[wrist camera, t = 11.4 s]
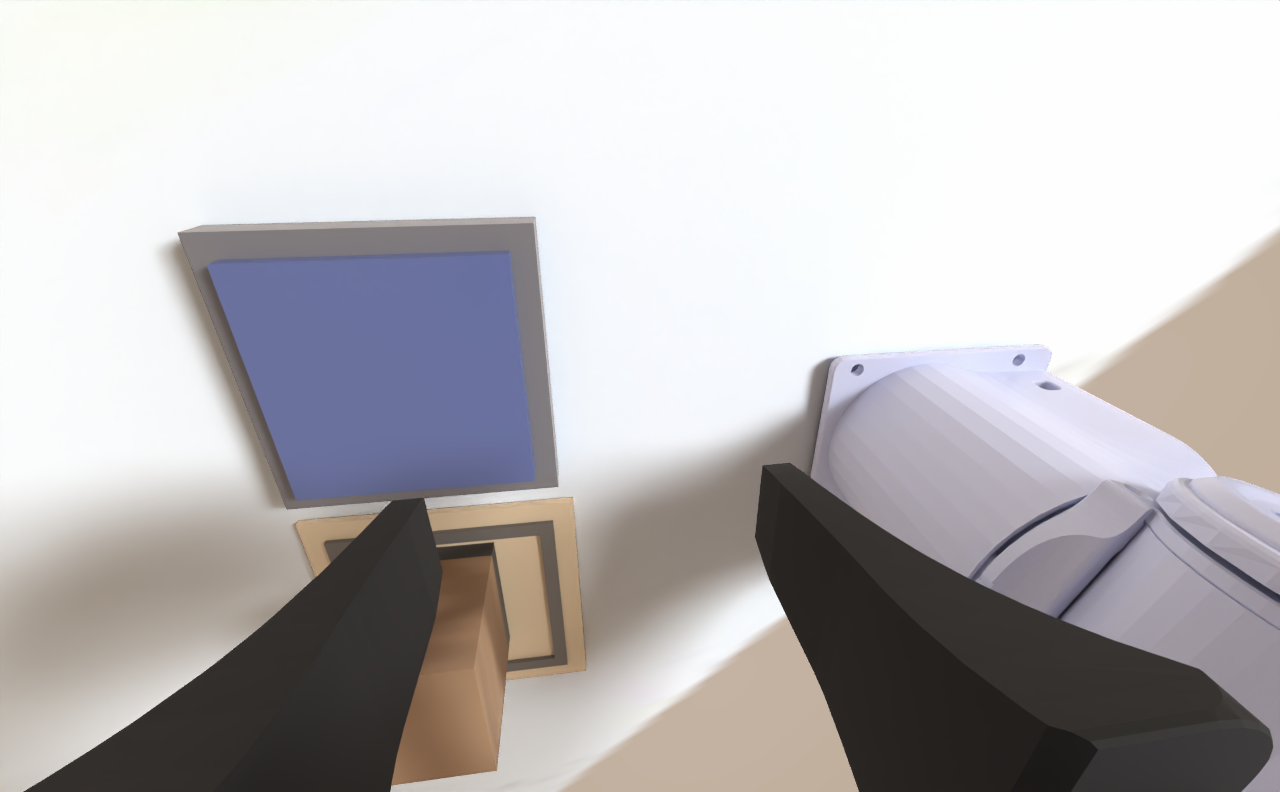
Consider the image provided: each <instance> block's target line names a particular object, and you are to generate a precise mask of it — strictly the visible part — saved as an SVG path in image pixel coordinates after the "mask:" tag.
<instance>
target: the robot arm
mask: <svg viewBox="0 0 1280 792" xmlns="http://www.w3.org/2000/svg"><path fill="white" fill-rule="evenodd" d="M1017 355H1018V356H1017ZM1051 355H1052V352H1051V350H1050V349H1049V348H1048V347H1046V346H1044V345H1040V344H1035V345H1018V346H1001V347H984V348H967V349H950V350H933V351H916V352H898V353H881V354H864V355H847V356H840V357H838V358H836V359H835V360H834V361H833V362H832V363H831V365H830V368H829V374H828V379H827V385H826V391H825V396H824V402H823V408H822V413H821V419H820V425H819V431H818V436H817V442H816V448H815V453H814V459H813V465H812V470H811V476H810V477H809V476H808V475H806V474H805V473H803V472H802V471H801V470H799V469H798V468H796V467H795V466H793V465H792V464H790V463H784V464H773V465H763V467H762V477H761V486H760V496H759V505H758V514H757V524H756V533H755V538H756V541H757V544H758V548H759V551H760V554H761V557H762V560H763V563H764V566H765V569H766V571H767V574H768V577H769V580H770V582H771V584H772V586H773V588H774V590H775V593H776V595H777V597H778V599H779V601H780V603H781V605H782V607H783V609H784V611H785V613H786V615H787V617H788V620H789V622H790V624H791V626H792V628H793V630H794V632H795V634H796V636H797V638H798V640H799V642H800V644H801V646H802V648H803V650H804V652H805V654H806V656H807V659H808V661H809V663H810V665H811V667H812V669H813V671H814V672H815V675H816V678H817V680H818V682H819V684H820V686H821V689H822V691H823V693H824V696H825V699H826V701H827V704H828V707H829V709H830V712H831V715H832V717H833V720H834V722H835V725H836V728H837V731H838V733H839V736H840V739H841V741H842V744H843V747H844V750H845V753H846V755H847V758H848V761H849V764H850V767H851V770H852V772H853V775H854V778H855V781H856V784H857V787H858V790H859V792H1280V494H1277V493H1275V492H1272V491H1269V490H1267V489H1264V488H1261V487H1259V486H1255V485H1253V484H1250V483H1247V482H1244V481H1241V480H1237V479H1234V478H1229V477H1221V476H1217V475H1216V473H1215V472H1214V471H1213V469H1212V468H1211V467H1210V466H1209V465H1208V464H1207V463H1206V462H1205V461H1204V460H1203V459H1202V457H1201V456H1200V455H1198V454H1197V453H1196V452H1195V451H1194V450H1193V449H1191V448H1190V447H1189V446H1187V445H1186V444H1185V443H1183V442H1181V441H1180V440H1178V439H1176V438H1175V437H1173V436H1171V435H1169V434H1167V433H1165V432H1163V431H1161V430H1159V429H1157V428H1155V427H1154V426H1152V425H1150V424H1148V423H1146V422H1144V421H1142V420H1140V419H1138V418H1136V417H1134V416H1132V415H1130V414H1128V413H1126V412H1124V411H1123V410H1121V409H1119V408H1117V407H1115V406H1113V405H1111V404H1109V403H1107V402H1105V401H1103V400H1101V399H1099V398H1097V397H1095V396H1093V395H1092V394H1090V393H1088V392H1086V391H1084V390H1082V389H1080V388H1078V387H1076V386H1074V385H1072V384H1070V383H1068V382H1066V381H1064V380H1063V379H1061V378H1059V377H1057V376H1055V375H1053V374H1051V373H1049V372H1047V371H1046V370H1047V367H1048V364H1049V362H1050V359H1051ZM1016 356H1017V358H1016V359H1015V360H1014V358H1015V357H1016ZM1013 360H1014V361H1013ZM857 364H859V367H858V369H857V370H856V371H854V372H851V370H852V368H853V367H854V366H855V365H857ZM442 573H443V570H442V566H441V562H440V559H439V555H438V551H437V547H436V543H435V539H434V536H433V532H432V528H431V524H430V520H429V517H428V513H427V509H426V505H425V501H424V498H414V499H403V500H393V501H392V502H391V503H390V504H389V505H388V506H387V507H386V508H385V509H384V510H383V511H382V512H381V513H380V514H379V515H378V516H377V517H376V518H375V519H374V520H373V521H372V522H371V523H370V524H369V525H368V526H367V527H366V528H365V529H364V530H363V531H362V532H361V533H360V534H359V535H358V536H357V537H356V538H355V539H354V540H353V541H352V542H351V543H350V544H349V545H348V546H347V547H346V548H345V549H344V550H343V551H342V552H341V553H340V554H339V555H338V556H337V557H336V558H335V559H334V560H333V561H332V562H331V563H330V564H329V565H328V566H327V567H326V568H325V569H324V570H323V571H322V572H321V573H320V574H319V575H318V576H317V577H316V578H315V579H314V580H312V581H311V582H310V583H309V584H308V585H307V586H306V587H305V588H304V589H303V590H302V591H300V592H299V593H298V594H297V595H296V596H295V597H294V598H293V599H292V600H291V601H289V602H288V603H287V604H286V605H285V606H284V607H283V608H282V609H281V610H280V611H279V612H277V613H276V614H275V615H274V616H273V617H272V618H271V619H269V620H268V621H267V622H266V623H265V624H264V625H262V626H261V627H260V628H259V629H258V630H256V631H255V632H254V633H253V634H252V635H250V636H249V637H248V638H247V639H246V640H244V641H243V642H242V643H241V644H239V645H238V646H237V647H235V648H234V649H233V650H232V651H230V652H229V653H228V654H227V655H225V656H224V657H223V658H222V659H220V660H219V661H218V662H217V663H215V664H214V665H213V666H211V667H210V668H209V669H207V670H206V671H205V672H203V673H202V674H201V675H199V676H198V677H196V678H195V679H194V680H192V681H191V682H189V683H188V684H187V685H185V686H184V687H182V688H181V689H179V690H178V691H177V692H175V693H174V694H172V695H171V696H170V697H168V698H167V699H165V700H164V701H163V702H161V703H160V704H158V705H157V706H156V707H154V708H153V709H151V710H150V711H149V712H147V713H146V714H144V715H143V716H142V717H140V718H139V719H137V720H136V721H134V722H133V723H131V724H130V725H128V726H127V727H125V728H124V729H122V730H121V731H119V732H118V733H116V734H115V735H113V736H112V737H110V738H109V739H107V740H106V741H104V742H102V743H101V744H99V745H98V746H96V747H95V748H93V749H92V750H90V751H89V752H87V753H85V754H84V755H82V756H81V757H79V758H77V759H76V760H74V761H73V762H71V763H69V764H68V765H66V766H65V767H63V768H62V769H60V770H58V771H57V772H55V773H54V774H52V775H50V776H49V777H47V778H45V779H44V780H42V781H41V782H39V783H37V784H36V785H34V786H32V787H31V788H29V789H27V790H26V791H24V792H390V790H391V784H392V779H393V774H394V769H395V763H396V758H397V754H398V750H399V746H400V742H401V738H402V734H403V730H404V726H405V723H406V719H407V716H408V712H409V709H410V705H411V702H412V699H413V695H414V692H415V688H416V685H417V681H418V678H419V675H420V671H421V668H422V664H423V661H424V657H425V654H426V650H427V647H428V643H429V640H430V636H431V633H432V629H433V626H434V622H435V618H436V612H437V607H438V601H439V594H440V587H441V580H442Z"/></svg>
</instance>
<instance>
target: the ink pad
mask: <svg viewBox="0 0 1280 792" xmlns="http://www.w3.org/2000/svg"><path fill="white" fill-rule="evenodd" d="M178 235H179V238H180V240H181V243H182V245H183V248H184V250H185V253H186V255H187V258H188V260H189V263H190V265H191V268H192V270H193V273H194V276H195V278H196V281H197V283H198V286H199V288H200V291H201V293H202V296H203V298H204V301H205V303H206V306H207V308H208V311H209V313H210V316H211V319H212V321H213V324H214V326H215V329H216V331H217V334H218V336H219V339H220V341H221V344H222V346H223V349H224V351H225V354H226V357H227V359H228V362H229V364H230V367H231V369H232V372H233V374H234V377H235V379H236V382H237V384H238V387H239V389H240V392H241V394H242V397H243V400H244V402H245V405H246V407H247V410H248V412H249V415H250V417H251V420H252V422H253V425H254V427H255V430H256V432H257V435H258V438H259V440H260V443H261V445H262V448H263V450H264V453H265V455H266V458H267V460H268V463H269V465H270V468H271V470H272V473H273V476H274V478H275V481H276V483H277V486H278V488H279V491H280V493H281V496H282V498H283V501H284V503H285V506H286V508H287V509H297V508H309V507H322V506H334V505H346V504H358V503H370V502H382V501H393V500H403V499H414V498H430V497H442V496H454V495H466V494H478V493H490V492H502V491H514V490H526V489H538V488H550V487H558V460H557V449H556V438H555V427H554V416H553V405H552V394H551V383H550V372H549V362H548V351H547V340H546V329H545V318H544V307H543V296H542V285H541V274H540V263H539V252H538V241H537V230H536V219H535V217H510V218H471V219H431V220H391V221H352V222H312V223H272V224H233V225H202V226H198V227H195V228H192V229H188V230H185V231H181V232H178Z"/></svg>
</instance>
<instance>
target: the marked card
mask: <svg viewBox="0 0 1280 792" xmlns="http://www.w3.org/2000/svg"><path fill="white" fill-rule="evenodd" d="M427 513H428V517H429V520H430V524H431V528H432V532H433V536H434V539H435V543H436V547H446V546H457V545H468V544H479V543H490V542H494V546H495V552H496V558H497V563H498V569H499V575H500V581H501V587H502V593H503V598H504V604H505V610H506V616H507V622H508V627H509V633H510V642H509V652H508V662H507V673H506V680H512V679H520V678H528V677H537V676H545V675H553V674H561V673H569V672H577V671H585V670H586V659H585V647H584V634H583V621H582V608H581V596H580V583H579V570H578V557H577V545H576V532H575V519H574V506H573V497H569V498H557V499H545V500H534V501H522V502H510V503H499V504H487V505H475V506H464V507H452V508H440V509H428V510H427ZM378 515H379V514H370V515H358V516H347V517H335V518H323V519H312V520H300V521H298V522H297V524H296V528H297V531H298V533H299V536H300V538H301V541H302V544H303V546H304V549H305V551H306V554H307V556H308V559H309V561H310V564H311V566H312V569H313V572H314V574H315V577H317V576H318V575H319V574H320V573H321V572H322V571H323V570H324V569H325V568H326V567H327V566H328V565H329V564H330V563H331V562H332V561H333V560H334V559H335V558H336V557H337V556H338V555H339V554H340V553H341V552H342V551H343V550H344V549H345V548H346V547H347V546H348V545H349V544H350V543H351V542H352V541H353V540H354V539H355V538H356V537H357V536H358V535H359V534H360V533H361V532H362V531H363V530H364V529H365V528H366V527H367V526H368V525H369V524H370V523H371V522H372V521H373V520H374V519H375V518H376V517H377V516H378Z"/></svg>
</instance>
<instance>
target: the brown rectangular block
mask: <svg viewBox="0 0 1280 792" xmlns="http://www.w3.org/2000/svg"><path fill="white" fill-rule="evenodd" d="M437 551H438V555H439V559H440V562H441V566H442V570H443V573H442V580H441V587H440V594H439V601H438V607H437V612H436V618H435V622H434V626H433V629H432V633H431V636H430V640H429V643H428V647H427V650H426V654H425V657H424V661H423V664H422V668H421V671H420V675H419V678H418V681H417V685H416V688H415V692H414V695H413V699H412V702H411V705H410V709H409V712H408V716H407V719H406V723H405V726H404V730H403V734H402V738H401V742H400V746H399V750H398V754H397V758H396V763H395V769H394V774H393V779H392V784H391V785H398V784H405V783H412V782H419V781H426V780H433V779H440V778H447V777H454V776H461V775H468V774H476V773H483V772H490V771H497V764H498V754H499V744H500V733H501V723H502V713H503V703H504V693H505V683H506V673H507V662H508V652H509V642H510V633H509V627H508V622H507V616H506V610H505V604H504V598H503V593H502V587H501V581H500V575H499V569H498V563H497V558H496V552H495V546H494V542H490V543H479V544H468V545H457V546H446V547H437Z"/></svg>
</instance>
